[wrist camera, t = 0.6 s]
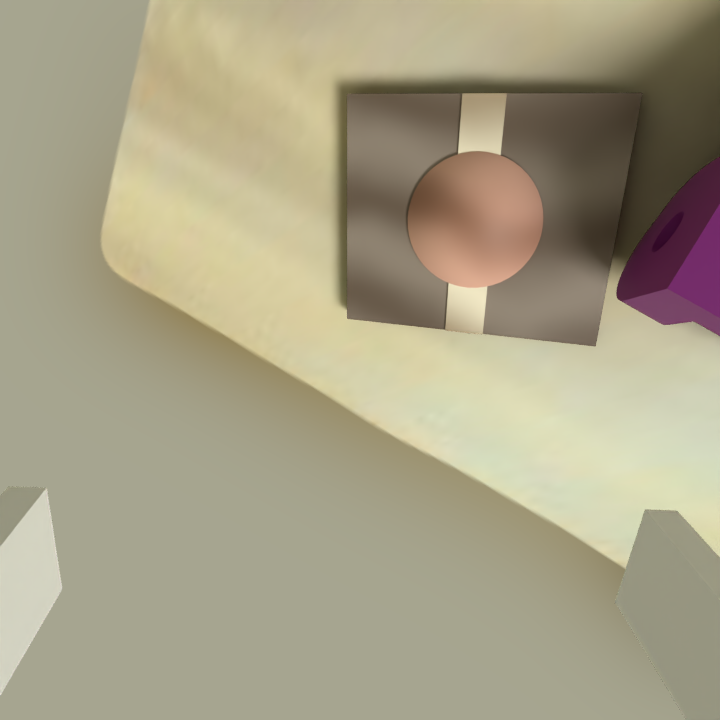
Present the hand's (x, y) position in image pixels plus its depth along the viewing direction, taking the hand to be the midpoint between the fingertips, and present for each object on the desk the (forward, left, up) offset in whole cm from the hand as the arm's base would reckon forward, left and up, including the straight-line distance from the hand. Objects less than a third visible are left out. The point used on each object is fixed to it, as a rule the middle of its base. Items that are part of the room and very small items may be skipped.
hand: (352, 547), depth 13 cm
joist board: (-3, -1, -27) cm, 27 cm away
